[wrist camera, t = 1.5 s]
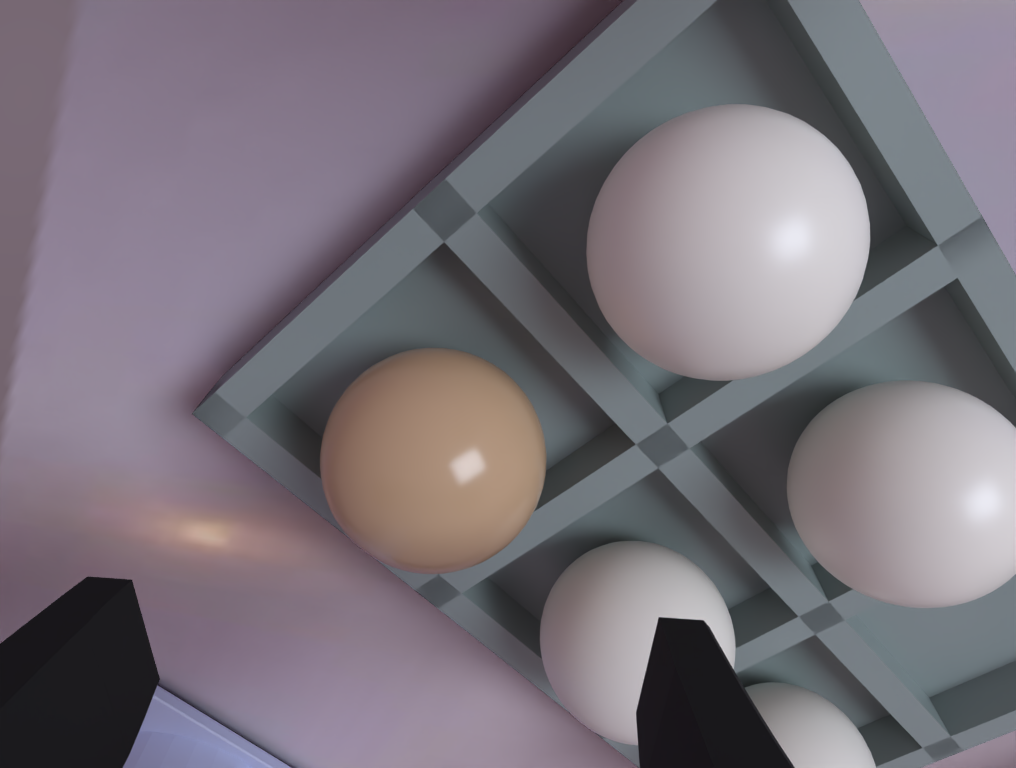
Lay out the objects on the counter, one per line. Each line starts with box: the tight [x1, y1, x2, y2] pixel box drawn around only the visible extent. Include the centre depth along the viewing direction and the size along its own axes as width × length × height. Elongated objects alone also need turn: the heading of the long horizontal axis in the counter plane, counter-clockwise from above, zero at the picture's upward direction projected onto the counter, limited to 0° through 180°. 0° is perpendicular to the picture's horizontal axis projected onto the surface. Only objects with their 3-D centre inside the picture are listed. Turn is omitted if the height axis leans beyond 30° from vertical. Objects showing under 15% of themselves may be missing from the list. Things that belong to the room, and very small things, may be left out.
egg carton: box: [192, 0, 1016, 768], centre depth 15 cm, size 14×21×5 cm
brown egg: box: [320, 348, 547, 574], centre depth 14 cm, size 4×4×4 cm
